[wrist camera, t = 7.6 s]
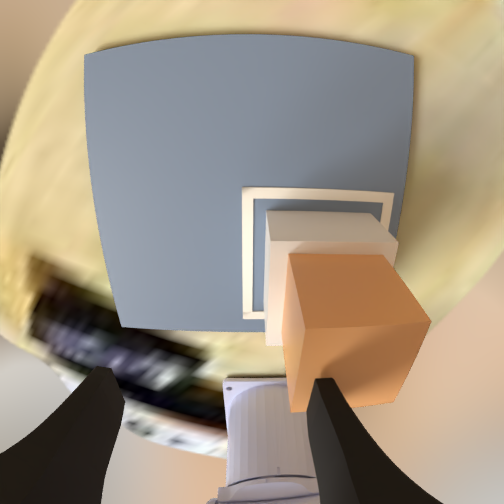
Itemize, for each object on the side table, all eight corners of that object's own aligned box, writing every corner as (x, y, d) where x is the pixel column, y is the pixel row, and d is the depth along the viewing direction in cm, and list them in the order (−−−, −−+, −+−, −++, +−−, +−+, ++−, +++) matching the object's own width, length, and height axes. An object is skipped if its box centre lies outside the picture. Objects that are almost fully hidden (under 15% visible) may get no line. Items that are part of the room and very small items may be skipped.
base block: (354, 300, 20) (373, 340, 16) (263, 302, 20) (266, 345, 16) (370, 213, 17) (398, 242, 13) (266, 210, 17) (270, 241, 13)
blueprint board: (371, 322, 21) (374, 328, 21) (124, 321, 21) (121, 327, 21) (408, 56, 13) (414, 55, 13) (89, 55, 13) (83, 54, 13)
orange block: (364, 329, 16) (393, 402, 11) (281, 332, 16) (290, 412, 11) (383, 254, 14) (431, 321, 9) (288, 253, 14) (305, 328, 9)
